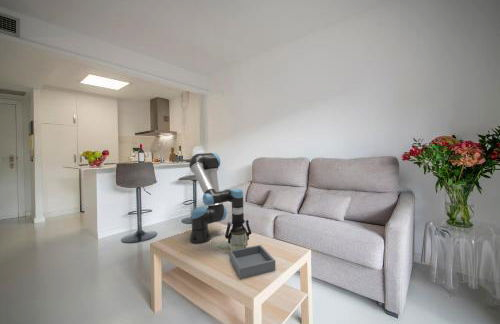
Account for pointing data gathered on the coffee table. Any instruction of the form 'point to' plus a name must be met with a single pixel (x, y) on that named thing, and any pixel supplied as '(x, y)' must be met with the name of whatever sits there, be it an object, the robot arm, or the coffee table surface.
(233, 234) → the coffee can
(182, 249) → the coffee table surface
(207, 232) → the robot arm
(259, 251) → the bin
